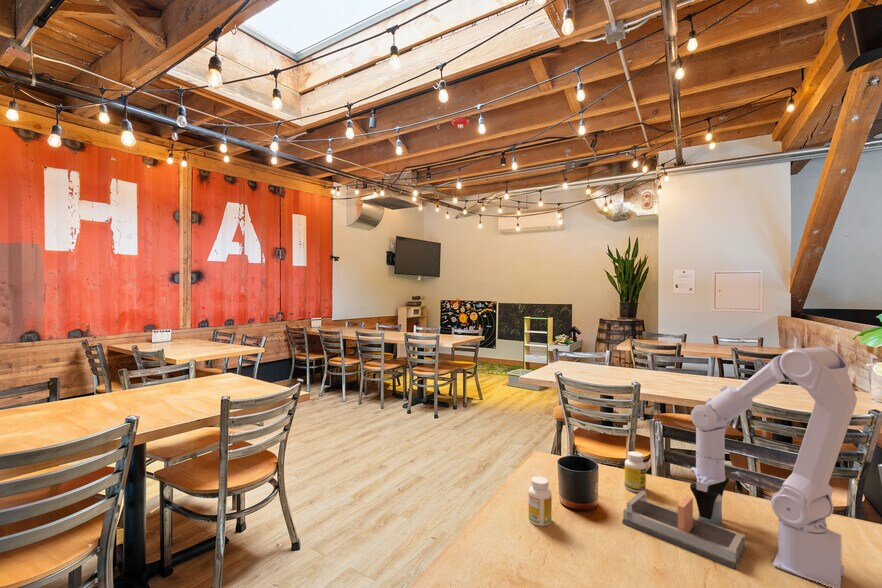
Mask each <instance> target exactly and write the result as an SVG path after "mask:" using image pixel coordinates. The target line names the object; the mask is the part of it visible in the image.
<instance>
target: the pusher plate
mask: <svg viewBox="0 0 882 588" xmlns="http://www.w3.org/2000/svg"><path fill="white" fill-rule="evenodd" d="M693 500H694V498H693V497H691V496H689V495H686V496H685V497H684V498H683V499H682V500H681V502H680V503H679V504H677V511H678V529H681V530H683V531H686V532H688V533H689V532H690V530H691V529H692V528H693V517H694V516H693V515H694V513H693V512H694V506H693V502H694V501H693Z"/></svg>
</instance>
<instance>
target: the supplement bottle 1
mask: <svg viewBox="0 0 882 588" xmlns="http://www.w3.org/2000/svg"><path fill="white" fill-rule="evenodd" d="M530 482H531V486H530V487H528V520H529V522H530V523H531V524H533V525H535V526H538V527H546V526H549V525H550V524H551V523H552V517H553V516H552V510H553V509H552V491H551V489H550V488H549V484H550V483H549V479H548V478H546V477H545V476H533V477H532V478H531V481H530Z"/></svg>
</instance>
